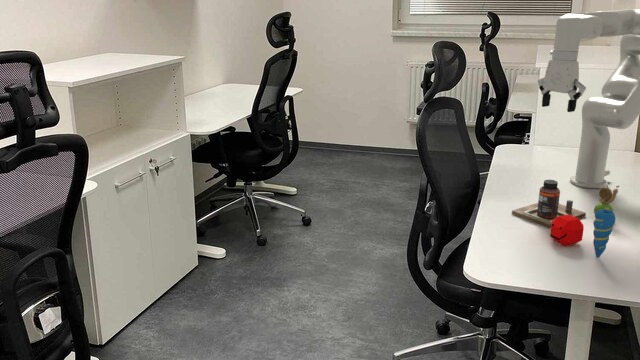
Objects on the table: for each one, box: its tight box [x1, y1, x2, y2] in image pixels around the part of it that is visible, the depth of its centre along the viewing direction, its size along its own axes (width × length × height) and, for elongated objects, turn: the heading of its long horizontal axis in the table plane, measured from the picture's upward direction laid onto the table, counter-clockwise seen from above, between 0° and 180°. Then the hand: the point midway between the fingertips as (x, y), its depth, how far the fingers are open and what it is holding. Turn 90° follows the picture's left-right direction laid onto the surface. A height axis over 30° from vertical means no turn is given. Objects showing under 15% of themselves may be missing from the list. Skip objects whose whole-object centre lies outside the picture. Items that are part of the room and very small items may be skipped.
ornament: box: [592, 207, 616, 259], centre depth 163 cm, size 5×5×15 cm
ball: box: [549, 214, 585, 247], centre depth 173 cm, size 8×8×8 cm
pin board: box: [511, 199, 587, 229], centre depth 194 cm, size 18×14×5 cm
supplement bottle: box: [537, 179, 561, 219], centre depth 189 cm, size 6×6×11 cm
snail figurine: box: [593, 185, 620, 215], centre depth 190 cm, size 5×6×12 cm
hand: (557, 108), depth 202 cm, fingers open, 9 cm apart
